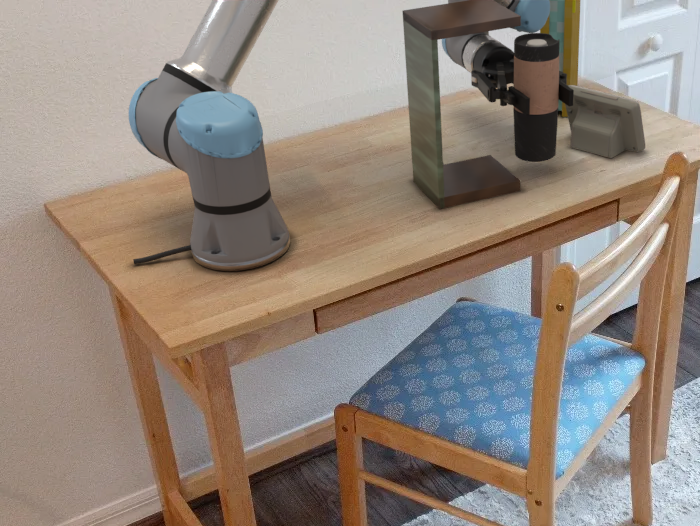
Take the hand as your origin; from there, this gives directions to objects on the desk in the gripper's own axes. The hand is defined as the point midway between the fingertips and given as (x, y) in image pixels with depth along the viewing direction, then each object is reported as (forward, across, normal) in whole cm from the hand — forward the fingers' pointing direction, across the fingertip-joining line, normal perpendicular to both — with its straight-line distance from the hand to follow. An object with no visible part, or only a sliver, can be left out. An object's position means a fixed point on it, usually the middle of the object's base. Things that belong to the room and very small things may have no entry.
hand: (549, 102), depth 166 cm
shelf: (-5, +13, -14) cm, 20 cm away
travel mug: (-5, 0, -11) cm, 12 cm away
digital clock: (-9, -16, -14) cm, 23 cm away
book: (-33, -20, -14) cm, 41 cm away
